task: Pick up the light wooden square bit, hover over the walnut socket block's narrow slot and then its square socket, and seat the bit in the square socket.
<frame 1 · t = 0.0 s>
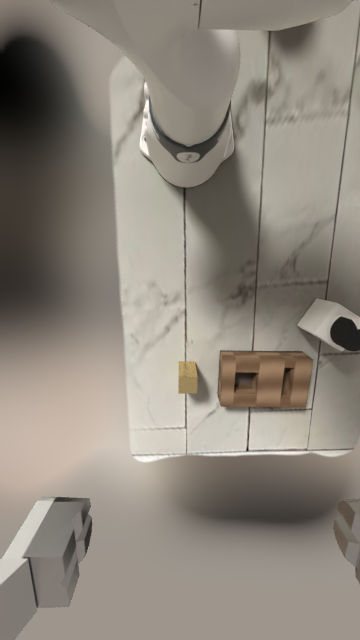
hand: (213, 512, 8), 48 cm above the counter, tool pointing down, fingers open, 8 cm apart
walnut socket block: (258, 373, 59), on the counter
light wooden square bit: (186, 369, 58), on the counter
container: (318, 319, 56), on the counter
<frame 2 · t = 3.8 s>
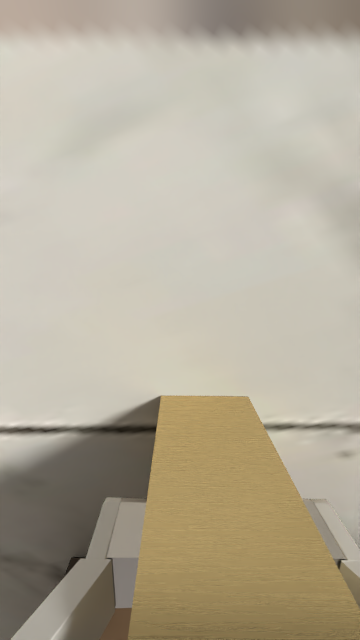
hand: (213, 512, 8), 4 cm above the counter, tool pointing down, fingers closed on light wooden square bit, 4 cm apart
light wooden square bit: (203, 433, 11), on the counter, touching gripper
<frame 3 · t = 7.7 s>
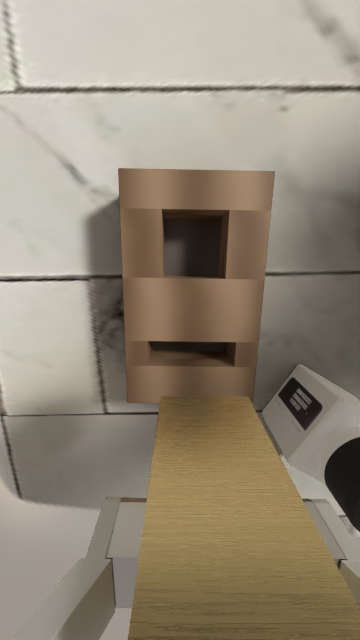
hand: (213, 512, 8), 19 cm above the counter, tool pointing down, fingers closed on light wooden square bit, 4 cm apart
walnut socket block: (190, 292, 25), on the counter
light wooden square bit: (203, 434, 11), point 15 cm above the counter, touching gripper
container: (303, 402, 28), on the counter
when the fingers open (6 cm above the counter, at t = 11.6 s): light wooden square bit drops 1 cm, resting on walnut socket block.
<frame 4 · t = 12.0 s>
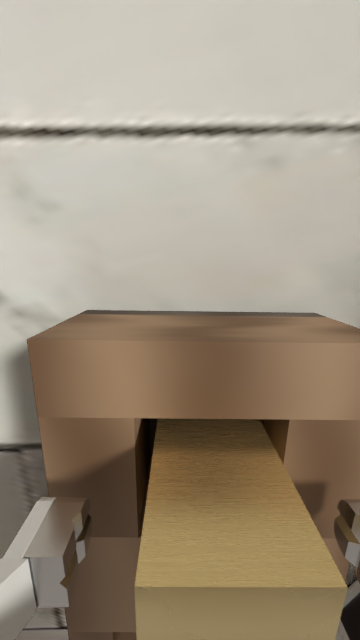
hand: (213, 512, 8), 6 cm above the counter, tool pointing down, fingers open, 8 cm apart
walnut socket block: (195, 469, 15), on the counter
light wooden square bit: (200, 415, 13), point 1 cm above the counter, touching walnut socket block
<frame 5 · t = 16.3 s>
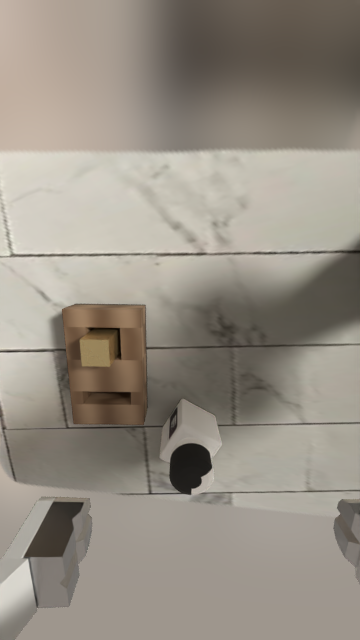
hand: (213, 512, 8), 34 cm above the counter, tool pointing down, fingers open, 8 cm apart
walnut socket block: (113, 358, 43), on the counter
light wooden square bit: (111, 336, 41), point 1 cm above the counter, touching walnut socket block
container: (188, 420, 46), on the counter
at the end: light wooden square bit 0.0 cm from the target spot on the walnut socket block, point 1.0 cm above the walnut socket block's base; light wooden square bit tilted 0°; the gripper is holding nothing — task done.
